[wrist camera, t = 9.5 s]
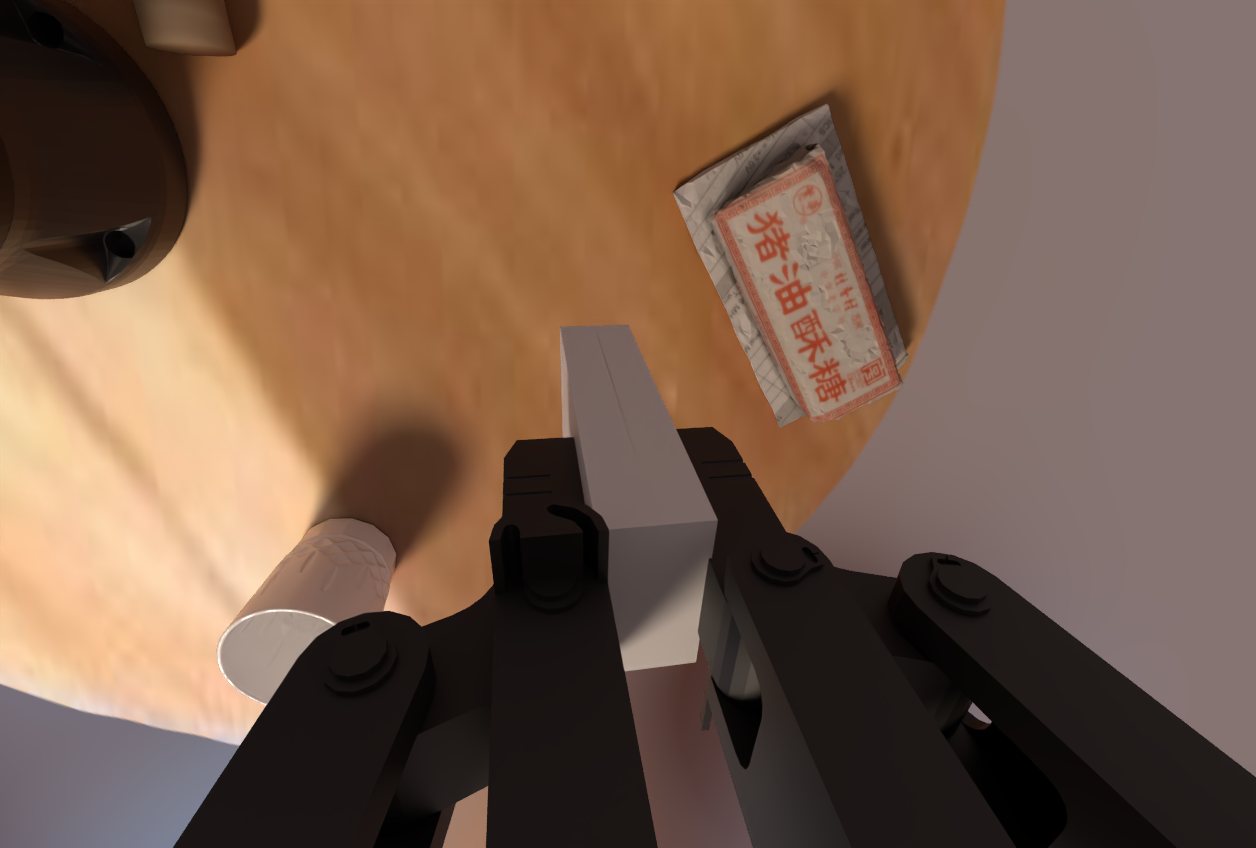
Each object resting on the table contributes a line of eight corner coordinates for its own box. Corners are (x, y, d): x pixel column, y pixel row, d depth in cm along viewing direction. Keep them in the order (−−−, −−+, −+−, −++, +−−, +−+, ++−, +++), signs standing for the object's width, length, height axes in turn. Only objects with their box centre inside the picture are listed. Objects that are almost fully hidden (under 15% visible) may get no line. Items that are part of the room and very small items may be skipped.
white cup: (292, 501, 39) (213, 601, 30) (410, 518, 41) (368, 617, 32) (290, 590, 42) (217, 704, 33) (400, 602, 44) (359, 715, 35)
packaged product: (941, 379, 36) (800, 451, 37) (899, 356, 41) (775, 422, 42) (855, 93, 29) (683, 193, 30) (816, 103, 33) (667, 190, 34)
